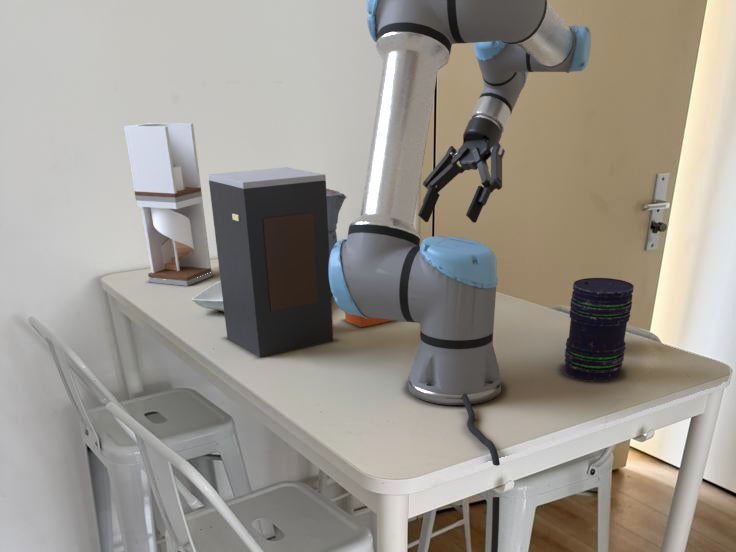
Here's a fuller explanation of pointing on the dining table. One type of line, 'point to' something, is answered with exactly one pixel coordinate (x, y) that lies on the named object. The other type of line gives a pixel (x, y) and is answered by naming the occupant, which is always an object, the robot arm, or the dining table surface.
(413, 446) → the dining table surface
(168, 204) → the white tall stand
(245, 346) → the tall dark grey cabinet
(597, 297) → the dark blue cylinder
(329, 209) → the moka pot
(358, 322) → the key
